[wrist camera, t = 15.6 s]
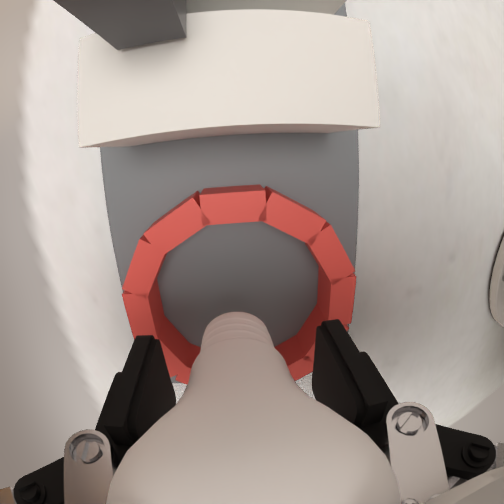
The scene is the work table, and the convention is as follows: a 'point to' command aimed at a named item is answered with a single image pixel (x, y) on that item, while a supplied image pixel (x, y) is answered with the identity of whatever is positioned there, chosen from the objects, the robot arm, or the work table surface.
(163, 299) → the multicoloured piece
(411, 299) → the work table surface
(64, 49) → the work table surface
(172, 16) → the block
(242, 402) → the lightbulb
